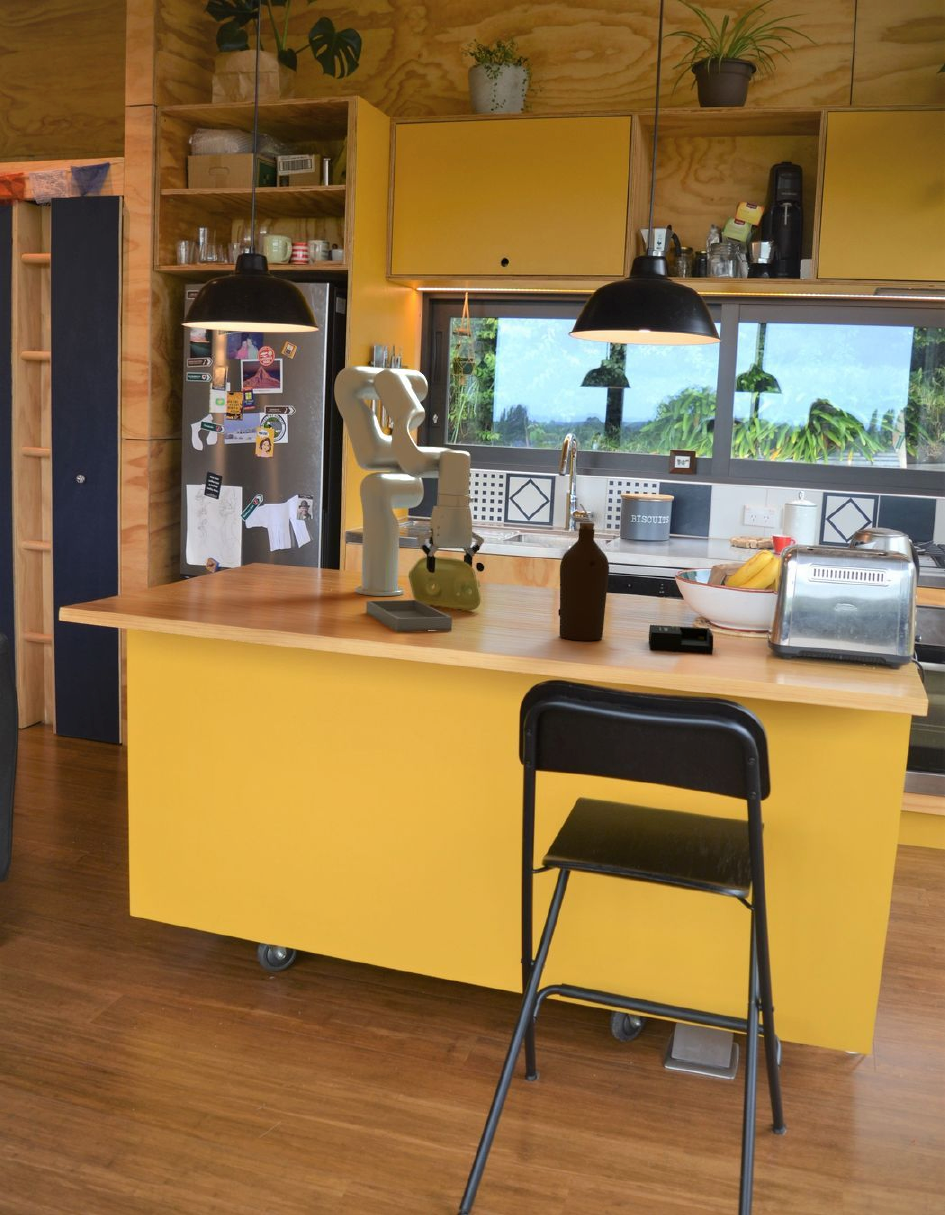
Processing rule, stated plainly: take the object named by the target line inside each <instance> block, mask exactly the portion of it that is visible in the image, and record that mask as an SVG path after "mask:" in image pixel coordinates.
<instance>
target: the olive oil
mask: <svg viewBox="0 0 945 1215" xmlns="http://www.w3.org/2000/svg"><path fill="white" fill-rule="evenodd" d="M560 561H561V562H560V564H559V608H558V611H557V612H558V617H559V636H560V637H561V638H563V639H566V640H572V641H582V642H583V641H584V642H589V641H598V640H601V639H603V634H604V624H605V614H606V613H605V612H606V605H607V603H606V602H607V593H608V584H609V575H610V565H609V564H610V563H609V560H608V557H607V555H606V554H605V553H604V551H603V550H602V549H601V548H600V546H599V545H598V544H597V543H596V541H595V523H594V522H590V521H581V522H579V528H578V538H577V541H576V542H575V543H574V544H573V545H572V546H571V547H570V548H568V550H566V552H565V553H564V554H563V555H562V558H561V560H560Z"/></svg>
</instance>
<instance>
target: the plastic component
mask: <svg viewBox="0 0 945 1215" xmlns="http://www.w3.org/2000/svg"><path fill="white" fill-rule="evenodd" d="M434 557H435V572H434V573H431V572H429V571H428V569H427V567H426V565H427V555H426V556H422V557H421V558H419V559H418V560H417V561H416V563H415V564H413V566H412V567H411V569H410V570H409V572H408V580H409V585H410V587H411V592H412V596H413V598H414V599H413V600H418V601H420V602H422V603H424V604H426V605H428V606H430V605H433V606H432V607H437V606H441V607H440V608H444V607H449V608H448V609H451V608H455V609H454V610H458V609H461V610H460V611H465V610H467V612H468V611H474V610H476V609H477V608H479V606H480V605H481V601H482V594H481V591H480V590H481V589H480V587H481V585H480V580H478V578H477V573H476V571H475V569H474V568H473V566H472V567H471V566H470V565H469V564H468V563H466V562H464V560H462V559H457V558H452V557H445V556H444V557H443V556H435V555H434ZM433 586H434V587H433Z"/></svg>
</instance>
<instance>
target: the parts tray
mask: <svg viewBox="0 0 945 1215" xmlns="http://www.w3.org/2000/svg"><path fill="white" fill-rule="evenodd" d="M365 613H366V614H367V615H368V616H371V617H372V618H373V619H375V620H377V621H379V622H380V623H382V624H383V625H386V627H389V628H390V629H392V630H393V631H395V632H396V631H397V633H415V632H414V631H425V632H429V631H428V630H451V631H452V629H453V628H452V627H453V625H452V623H453V617H452V616H451V615H449V614H446V613H444V612H442V611H440V610H438V609H436V608H434V607H433V606H430V605H426V604H424V603H422V602H420V601H418V600H415V599H403V600H401V599H398V600H395V599H394V600H390V599H389V600H366V609H365ZM411 631H413V632H411Z"/></svg>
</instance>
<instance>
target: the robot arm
mask: <svg viewBox="0 0 945 1215" xmlns="http://www.w3.org/2000/svg"><path fill="white" fill-rule="evenodd" d="M333 388H334V389H333V393H334V400H335V403H336V406H337V409H338V412H339V413H340V416H341V417H342V419H343V422H344V424H345V427H346V429H347V434H348V437H349V441H350V443H351V448H352V450H353V454H354V455H353V456H354V458H355V460H356V463H357V465H358V466H359V467H360V469H362V470H365V471H371V473H369V474H367V475H366V476H365V477H364V478H362V479H361V482H360V484H359V497H360V503H361V510H362V553H361V554H362V556H361V558H362V560H361V585H360V586H356V587H355V593H356V594H359V595H364V596H373V597H391V596H392V597H394V596H400V595H403V594H405V592H404V590H405V589H404V588H402V587H399V558H400V556H399V555H400V554H399V553H400V552H399V551H400V524H399V520H398V518H397V515H396V514H395V511H394V510H396V509H397V510H400V509H401V510H402V509H412V508H416V507H418V506H419V505H420V504H421V503H422V500H423V499H424V494H425V493H424V490H425V488H424V483H423V478H424V479H429V478H430V479H438V480H437V481H438V483H437V498H436V499H437V500H436V501H437V503H436V505H433V507H432V510H431V516H430V521H429V522H430V523H429V527H428V528H429V530H428V531H426V532H424V533H422V534H421V535H419V536H417V537H416V541H417V543H418V546H419V548H420V549H421V550H422V551H423V552H424V554H425V555H426V556H427V565H426V567H427V569H428V571H429V572H431V573H434V572H435V557H434V556H435V553H436V552H438V550H439V549H462V550H463V551H464V552H465V554H464V556H463V561H464V562H466V563H468V564H469V565H470V566H471V567H472V568H473V558H474V557H475V555H476V554H477V553H478V551H480V550H481V547H482V546H483V544H484V542H485V539H484V538H483V537H482V536H480V535H479V534H477V533H475V532H474V531H473V520H472V519H473V518H472V511H471V507H469V506H470V504H473V503H474V500H475V499H474V497H473V496H470V494H469V493H470V479H471V478H470V477H471V476H470V475H471V463H472V462H471V460H472V459H471V458H472V456H471V454H470V453H469V452H468V451H467V450H459V449H451V448H449V447H443V446H441V447H440V446H418V445H416V443H415V442H414V440H413V438H412V436H411V434H410V432H412V431H414V430H416V429H417V428H418V427H420V426H421V424H422V423H423V422H424V420H425V418H426V412H425V408H424V407H423V405H422V404H421V402H422V401H424V400H425V399H426V397H427V395H428V391H429V390H428V389H429V386H428V381H427V379H426V377H425V375H424V374H422V372H420V371H419V370H416V369H409V368H408V369H407V368H397V367H396V368H395V367H391V368H390V367H389V368H388V367H377V366H367V365H352V366H348V367H344V368H343V369H341V370H340V371H339V372H338V374H337V375H336V378H335V381H334V387H333ZM365 400H373V401H375V400H376V401H380V403H381V405H382V406H383V408H384V410H385V412H386V413H387V415H388V417H389V419H390V421H391V422H392V424H393V426H394V427H393V429H392V432H391V434H385V433H383V431H382V429H381V425H380V423H379V419H378V417H377V415H376V414H375V412H374V411H373V409H372V408H371V407H370V406H369V405H368V404H367V403H366V402H365ZM473 539H474V540H475V543H474V544H473ZM426 540H428V544H429V546H427V545H426V543H425V542H426ZM472 545H473V546H472ZM471 546H472V547H471Z"/></svg>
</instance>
